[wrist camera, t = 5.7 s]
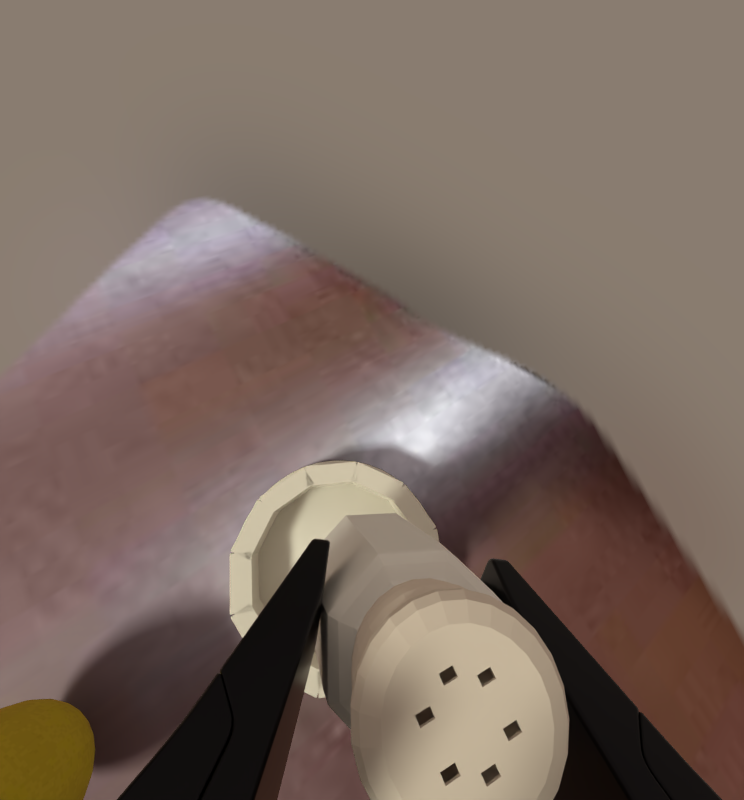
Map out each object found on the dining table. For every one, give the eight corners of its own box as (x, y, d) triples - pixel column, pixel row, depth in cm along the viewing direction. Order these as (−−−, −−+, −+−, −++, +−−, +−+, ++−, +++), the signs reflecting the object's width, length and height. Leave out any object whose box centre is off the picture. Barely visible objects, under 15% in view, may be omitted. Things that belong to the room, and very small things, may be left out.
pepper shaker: (464, 615, 15) (775, 842, 4) (337, 689, 14) (355, 1235, 3) (403, 487, 16) (534, 429, 6) (282, 545, 15) (169, 607, 5)
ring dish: (453, 663, 20) (468, 683, 17) (234, 699, 18) (220, 725, 16) (422, 453, 23) (432, 446, 20) (233, 471, 21) (221, 466, 19)
